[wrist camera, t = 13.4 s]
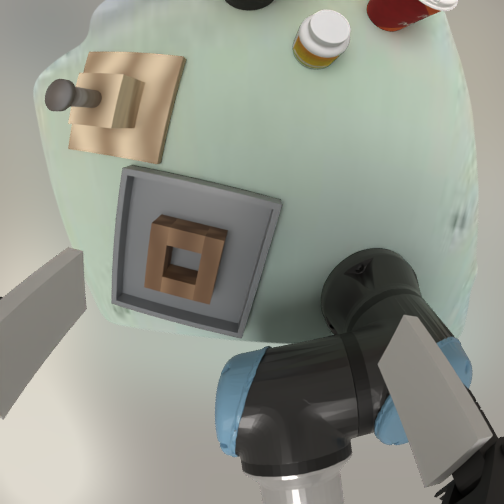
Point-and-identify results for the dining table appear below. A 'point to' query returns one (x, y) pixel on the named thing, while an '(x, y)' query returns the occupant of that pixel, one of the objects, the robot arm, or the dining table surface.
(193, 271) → the collar
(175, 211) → the tray
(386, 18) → the paper cup
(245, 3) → the travel mug
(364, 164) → the dining table surface
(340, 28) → the supplement bottle
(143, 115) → the stake stand
